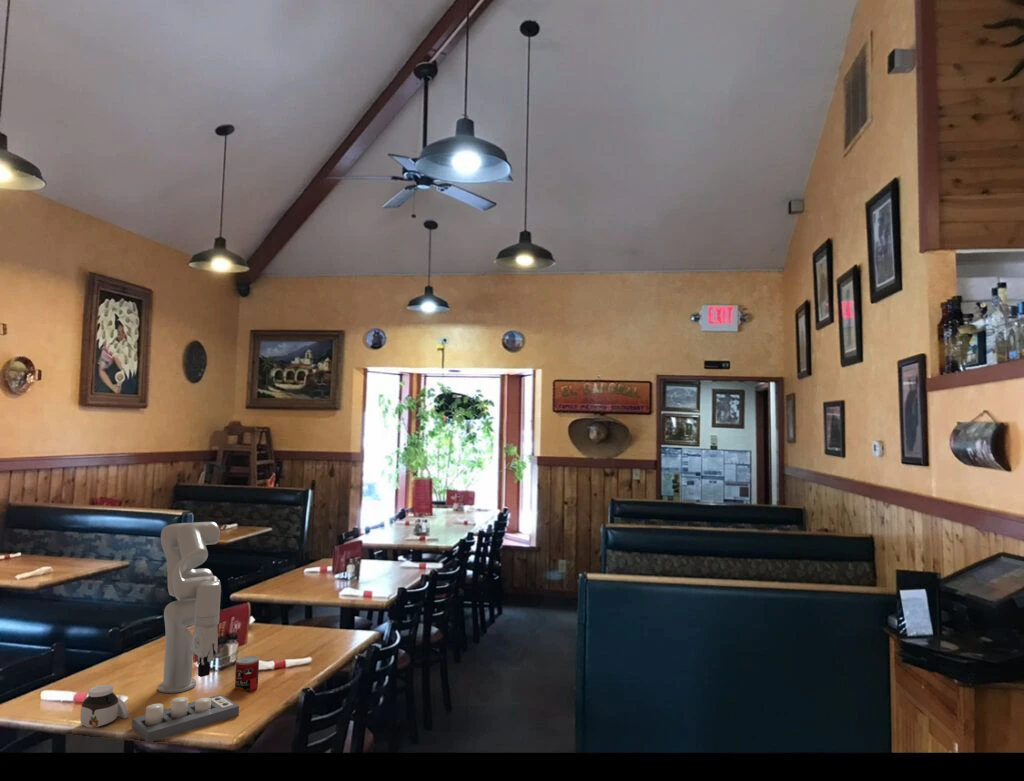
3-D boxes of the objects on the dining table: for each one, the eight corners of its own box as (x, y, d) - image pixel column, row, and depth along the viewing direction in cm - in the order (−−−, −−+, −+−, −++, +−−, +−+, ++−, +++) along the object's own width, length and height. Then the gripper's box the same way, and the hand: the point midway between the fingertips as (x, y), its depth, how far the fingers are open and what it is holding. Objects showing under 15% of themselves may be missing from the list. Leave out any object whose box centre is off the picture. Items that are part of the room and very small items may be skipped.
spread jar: (75, 729, 211) (77, 691, 211) (102, 714, 222) (104, 679, 222) (108, 733, 209) (110, 695, 209) (134, 718, 220) (136, 681, 220)
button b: (168, 715, 214) (169, 699, 214) (183, 711, 217) (184, 695, 217) (173, 720, 210) (174, 704, 211) (189, 715, 214) (190, 700, 214)
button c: (142, 722, 208) (143, 706, 208) (159, 718, 212) (160, 702, 212) (148, 727, 205) (149, 711, 205) (164, 723, 208) (165, 706, 209)
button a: (192, 715, 219) (192, 700, 219) (206, 711, 222) (207, 696, 223) (197, 720, 216) (198, 704, 216) (212, 716, 219) (213, 700, 219)
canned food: (230, 691, 243) (231, 661, 244) (246, 684, 250) (247, 654, 251) (246, 695, 240) (247, 664, 241) (262, 687, 247) (263, 657, 248)
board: (131, 731, 210) (132, 717, 210) (220, 706, 230) (221, 693, 231) (147, 746, 200) (148, 731, 201) (238, 718, 221) (239, 704, 221)
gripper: (186, 616, 224) (183, 671, 223) (204, 627, 213) (201, 685, 213) (209, 612, 229) (205, 666, 228) (227, 622, 219) (224, 679, 218)
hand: (203, 675), depth 221 cm, fingers closed
